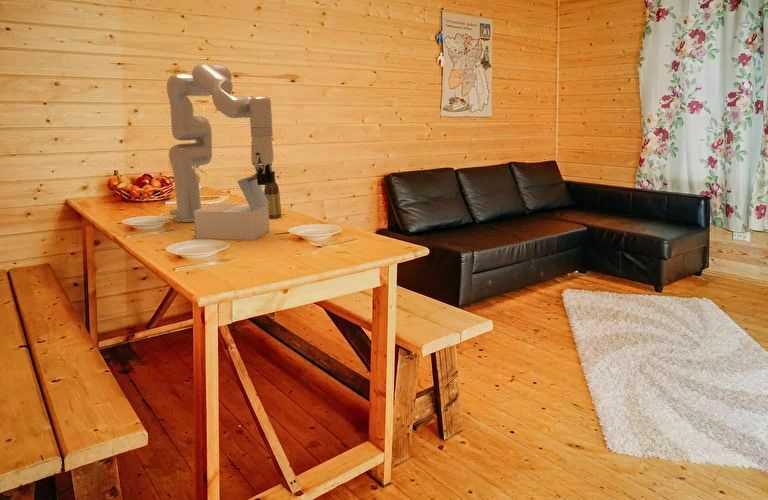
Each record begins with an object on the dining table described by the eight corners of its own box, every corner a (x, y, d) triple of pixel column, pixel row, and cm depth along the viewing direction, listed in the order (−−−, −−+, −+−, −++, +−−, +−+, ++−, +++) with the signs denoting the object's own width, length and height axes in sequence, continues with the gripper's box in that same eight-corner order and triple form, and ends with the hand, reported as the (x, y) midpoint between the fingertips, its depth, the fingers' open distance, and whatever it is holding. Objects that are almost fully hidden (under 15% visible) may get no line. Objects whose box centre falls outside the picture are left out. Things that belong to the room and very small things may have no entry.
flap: (237, 181, 200) (253, 173, 198) (253, 175, 214) (269, 168, 212) (252, 210, 202) (268, 203, 200) (267, 203, 216) (282, 196, 214)
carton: (195, 238, 208) (192, 210, 205) (214, 228, 223) (212, 203, 220) (253, 239, 204) (251, 211, 201) (269, 230, 219) (267, 203, 217)
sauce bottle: (277, 215, 248) (274, 169, 243) (284, 217, 243) (281, 170, 238) (263, 217, 244) (260, 170, 239) (270, 219, 239) (267, 172, 234)
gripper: (260, 131, 210) (263, 180, 215) (242, 134, 194) (245, 187, 199) (280, 131, 209) (282, 180, 214) (263, 134, 193) (266, 187, 198)
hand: (264, 183), depth 206 cm, fingers closed on flap, 5 cm apart
